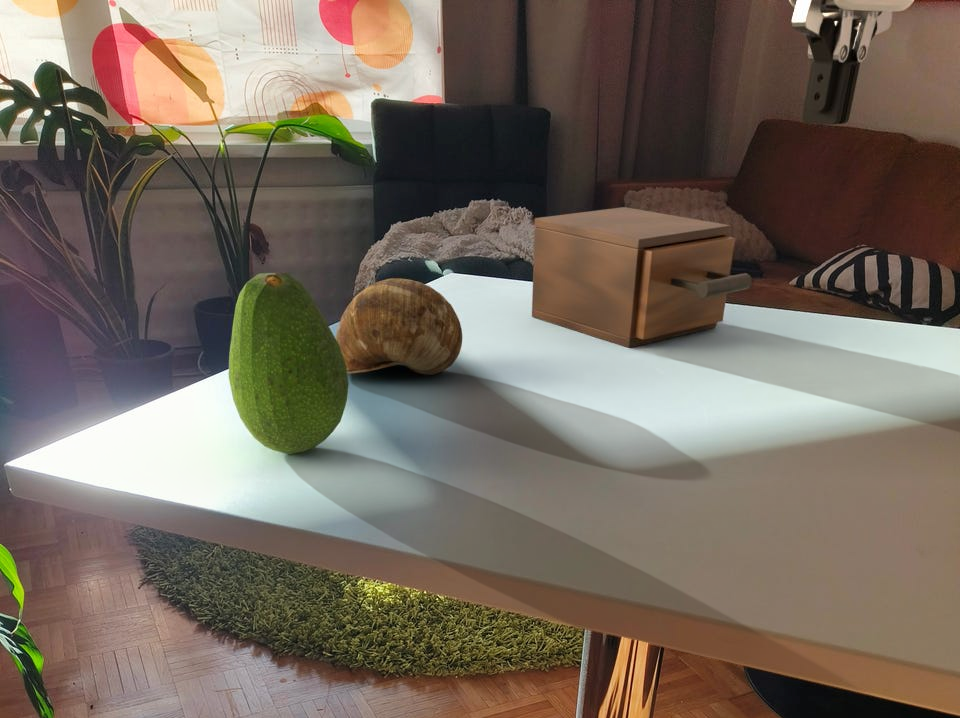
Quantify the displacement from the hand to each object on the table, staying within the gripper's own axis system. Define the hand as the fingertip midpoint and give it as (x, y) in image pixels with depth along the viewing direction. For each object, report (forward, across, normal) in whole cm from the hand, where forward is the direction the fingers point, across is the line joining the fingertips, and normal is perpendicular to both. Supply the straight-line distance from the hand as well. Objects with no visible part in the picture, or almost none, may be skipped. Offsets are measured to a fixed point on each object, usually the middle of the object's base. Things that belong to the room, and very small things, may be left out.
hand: (824, 122), depth 70 cm
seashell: (+19, -28, +19) cm, 39 cm away
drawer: (+18, 0, +16) cm, 24 cm away
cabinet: (+19, 0, +20) cm, 27 cm away
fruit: (+19, -44, +8) cm, 49 cm away
